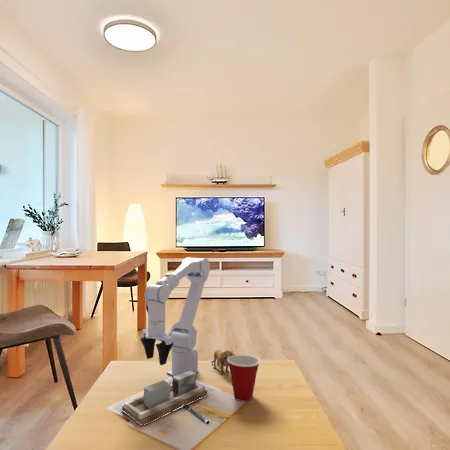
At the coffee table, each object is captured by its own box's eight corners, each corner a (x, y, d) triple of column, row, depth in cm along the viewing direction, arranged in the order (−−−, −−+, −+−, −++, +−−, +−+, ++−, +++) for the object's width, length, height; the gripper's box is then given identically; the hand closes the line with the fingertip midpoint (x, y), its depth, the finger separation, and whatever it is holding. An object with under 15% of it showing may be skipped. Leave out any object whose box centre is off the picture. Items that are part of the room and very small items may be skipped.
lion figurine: (238, 374, 125) (238, 350, 125) (227, 378, 122) (227, 353, 122) (216, 362, 137) (216, 340, 137) (205, 365, 134) (205, 342, 134)
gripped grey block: (143, 404, 100) (143, 387, 100) (164, 395, 106) (164, 379, 106) (150, 408, 98) (150, 391, 98) (171, 399, 103) (171, 383, 103)
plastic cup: (264, 392, 111) (265, 355, 112) (253, 407, 101) (253, 367, 102) (234, 386, 116) (234, 350, 116) (221, 400, 106) (221, 361, 106)
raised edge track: (185, 384, 116) (185, 365, 117) (207, 395, 109) (207, 375, 109) (122, 411, 99) (122, 389, 99) (142, 426, 92) (142, 402, 92)
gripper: (134, 318, 116) (134, 358, 115) (159, 327, 106) (159, 370, 105) (152, 315, 121) (151, 353, 120) (177, 322, 111) (177, 364, 110)
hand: (156, 361), depth 113 cm, fingers open, 7 cm apart
